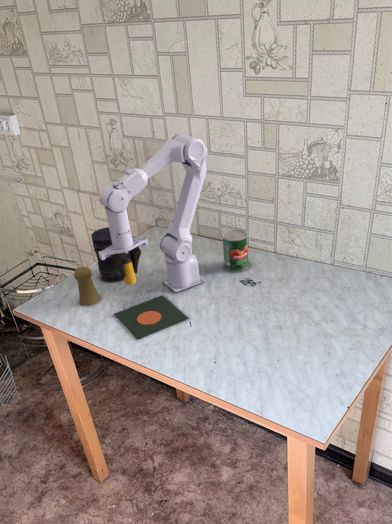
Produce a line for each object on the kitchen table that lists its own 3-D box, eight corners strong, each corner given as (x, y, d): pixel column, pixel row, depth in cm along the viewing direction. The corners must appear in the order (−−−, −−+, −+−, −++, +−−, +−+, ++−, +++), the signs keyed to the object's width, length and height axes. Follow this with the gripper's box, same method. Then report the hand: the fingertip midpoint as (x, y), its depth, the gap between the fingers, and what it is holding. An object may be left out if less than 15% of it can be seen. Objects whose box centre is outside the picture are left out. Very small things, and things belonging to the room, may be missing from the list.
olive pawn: (95, 305, 156) (87, 273, 149) (77, 305, 157) (68, 273, 150) (102, 295, 160) (94, 264, 154) (84, 295, 162) (76, 264, 155)
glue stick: (133, 277, 153) (128, 251, 148) (138, 282, 150) (133, 256, 145) (122, 281, 152) (117, 255, 146) (127, 286, 149) (122, 259, 144)
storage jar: (136, 271, 171) (128, 229, 162) (117, 284, 165) (108, 242, 156) (113, 265, 176) (104, 225, 167) (94, 279, 170) (84, 237, 161)
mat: (162, 296, 156) (162, 294, 156) (188, 318, 144) (188, 317, 144) (114, 314, 150) (114, 312, 150) (137, 339, 139) (137, 337, 138)
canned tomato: (232, 258, 171) (230, 228, 165) (253, 263, 167) (251, 232, 161) (219, 269, 166) (217, 237, 160) (240, 274, 162) (238, 242, 156)
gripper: (137, 219, 147) (145, 261, 155) (90, 233, 142) (101, 276, 150) (148, 226, 142) (155, 270, 150) (99, 242, 136) (110, 286, 145)
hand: (129, 274), depth 149 cm, fingers closed on glue stick, 3 cm apart
